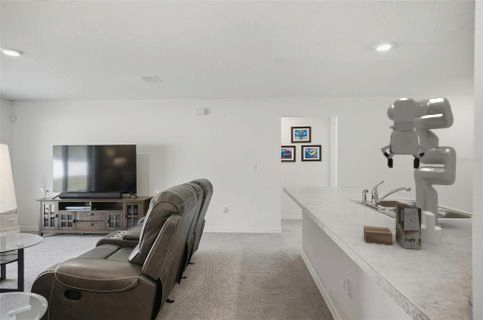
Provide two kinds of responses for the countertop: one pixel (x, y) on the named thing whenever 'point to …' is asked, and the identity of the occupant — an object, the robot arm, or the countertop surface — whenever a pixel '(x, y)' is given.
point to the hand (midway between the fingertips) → (403, 168)
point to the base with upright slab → (430, 229)
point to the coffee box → (408, 226)
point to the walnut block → (378, 235)
